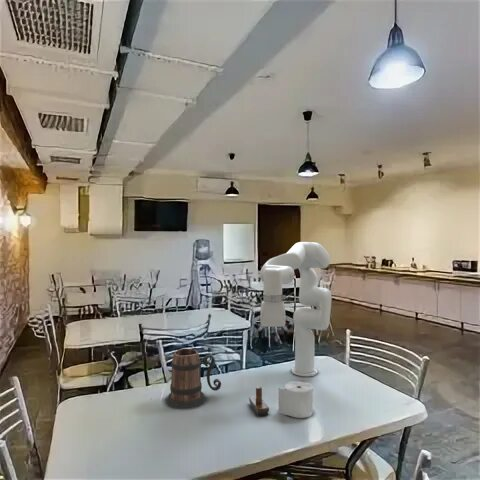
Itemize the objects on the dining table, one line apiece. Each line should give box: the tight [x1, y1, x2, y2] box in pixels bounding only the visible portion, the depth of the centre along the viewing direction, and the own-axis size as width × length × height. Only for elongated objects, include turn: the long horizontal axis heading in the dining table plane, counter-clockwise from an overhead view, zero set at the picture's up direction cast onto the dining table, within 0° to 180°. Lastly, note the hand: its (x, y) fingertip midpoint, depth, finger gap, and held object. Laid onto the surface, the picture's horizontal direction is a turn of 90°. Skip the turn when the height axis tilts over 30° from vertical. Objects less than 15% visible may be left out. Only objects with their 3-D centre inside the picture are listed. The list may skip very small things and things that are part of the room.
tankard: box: [165, 347, 222, 410], centre depth 170 cm, size 24×17×20 cm
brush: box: [248, 385, 270, 417], centre depth 160 cm, size 11×4×9 cm, turn 16°
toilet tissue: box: [277, 380, 314, 419], centre depth 158 cm, size 11×12×10 cm
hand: (272, 340), depth 167 cm, fingers open, 9 cm apart
